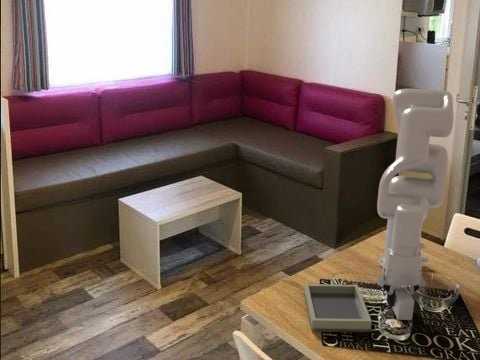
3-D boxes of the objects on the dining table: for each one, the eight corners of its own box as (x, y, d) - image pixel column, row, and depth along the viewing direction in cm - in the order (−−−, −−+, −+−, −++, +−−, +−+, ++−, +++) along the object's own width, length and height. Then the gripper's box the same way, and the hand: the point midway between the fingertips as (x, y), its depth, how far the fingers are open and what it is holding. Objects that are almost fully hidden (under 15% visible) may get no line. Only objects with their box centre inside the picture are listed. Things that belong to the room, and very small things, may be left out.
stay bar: (399, 293, 172) (401, 275, 170) (412, 319, 159) (414, 301, 157) (385, 292, 172) (387, 275, 170) (397, 319, 159) (399, 301, 157)
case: (356, 295, 175) (357, 284, 173) (370, 332, 156) (371, 321, 155) (304, 294, 175) (304, 284, 173) (311, 331, 156) (312, 320, 154)
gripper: (431, 241, 162) (423, 297, 169) (372, 241, 162) (366, 297, 169) (439, 254, 155) (431, 311, 162) (378, 253, 155) (372, 311, 162)
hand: (398, 303), depth 165 cm, fingers closed on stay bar, 4 cm apart
